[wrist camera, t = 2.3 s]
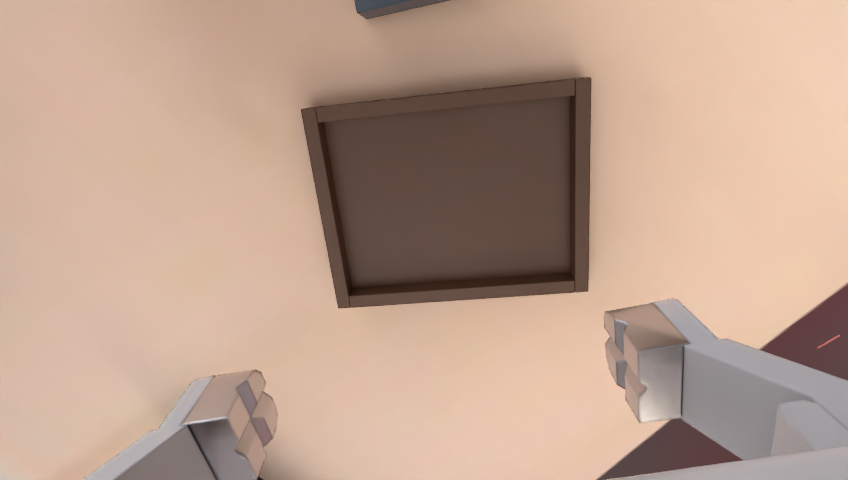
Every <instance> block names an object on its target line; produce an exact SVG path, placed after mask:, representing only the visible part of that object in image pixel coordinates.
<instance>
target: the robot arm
mask: <svg viewBox="0 0 848 480" xmlns="http://www.w3.org/2000/svg"><path fill="white" fill-rule="evenodd" d="M604 328H605V329H606V331H607V332H608V334H609V336H610V337H609V339H608V340H607V342H606V343H605V348H606V357H607V362H608V366H609V369H610V372H611V374H612V376H613V378H614V380H615V382H616V384H617V385H618V386H620V387H622V388H624V389H625V395H626V401H627V403H628V404H629V406H630V408H631V410H632V411H633V413H634V415H635V416H636V418H637V420H638V421H639V423H644V422H652V421H661V420H669V419H677V418H682V420H683V421H685V422H686V423H688V424H689V425H691V426H692V427H694V428H695V429H697V430H698V431H700V432H701V433H703V434H704V435H706V436H708V437H709V438H711V439H712V440H714V441H715V442H717V443H718V444H720V445H721V446H723V447H724V448H726V449H728V450H729V451H730V452H732V453H733V454H735V455H737V456H738V457H740V458H741V459H743V461H736V462H729V463H721V464H715V465H707V466H700V467H694V468H686V469H679V470H672V471H665V472H658V473H651V474H644V475H637V476H630V477H623V478H615V479H608V480H848V381H847V380H844V379H841V378H838V377H835V376H832V375H829V374H827V373H824V372H821V371H818V370H815V369H812V368H810V367H807V366H804V365H801V364H798V363H795V362H792V361H789V360H787V359H784V358H781V357H778V356H775V355H772V354H769V353H767V352H763V351H761V350H758V349H755V348H752V347H749V346H746V345H744V344H741V343H738V342H735V341H732V340H729V339H721V340H719V339H718V338H717V337H716V336H715V335H714V334H713V333H712V332H711V331H710V330H709V329H708V328H707V327H705V326H704V325H703V324H702V323H701V322H700V321H699V320H698V319H697V318H696V317H695V316H694V315H693V314H692V313H691V312H690V311H689V310H688V309H687V308H686V307H685V306H684V305H683V304H682V303H681V302H680V301H678V300H677V299H674V298H672V299H667V300H662V301H657V302H652V303H650V304H644V305H639V306H633V307H628V308H622V309H617V310H611V311H606V312H605V314H604ZM265 385H266V381H265V379H264V377H263V375H262V373H261V372H260V371H258V370H250V371H243V372H236V373H229V374H223V375H217V376H210V377H204V378H198V379H196V380H194V381H192V382H191V384H190V385H189V386H188V388H187V389H186V391H185V392H184V393H183V395H182V396H181V398H180V399H179V400H178V402H177V403H176V405H175V406H174V408H173V409H172V410H171V412H170V413H169V415H168V416H167V417H166V419H165V420H164V422H163V423H162V424H161V426H160V427H159V429H158V430H152V431H150V432H149V433H147V434H146V435H145V436H143V437H142V438H140V439H139V440H137V441H136V442H135V443H133V444H132V445H130V446H129V447H128V448H126V449H125V450H123V451H122V452H120V453H119V454H118V455H116V456H115V457H113V458H112V459H111V460H109V461H108V462H106V463H105V464H104V465H102V466H101V467H99V468H98V469H96V470H95V471H94V472H92V473H91V474H89V475H88V476H87V477H85V478H84V479H82V480H257V478H258V475H259V473H260V470H261V468H262V465H263V463H264V460H265V458H266V455H267V454H266V452H265V450H264V446H265V445H267V444H268V443H269V442H270V441H271V440H272V439H273V437H274V434H275V431H276V428H277V416H278V415H277V410H276V405H275V403H274V400H273V398H272V397H271V396H269V395H268V394H266V393H265V392H264V391H263V390H264V388H265Z"/></svg>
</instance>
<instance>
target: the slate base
mask: <svg viewBox="0 0 848 480" xmlns="http://www.w3.org/2000/svg"><path fill="white" fill-rule="evenodd" d="M354 1H355V6H356V10H357V13H359V14H360V15H361V16H363V17H364V18H365V19H370V18H374V17H379V16H383V15H387V14H392V13H396V12H400V11H405V10H409V9H414V8H418V7H422V6H427V5H431V4H435V3H440V2H444V1H449V0H354Z"/></svg>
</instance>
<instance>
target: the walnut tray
mask: <svg viewBox="0 0 848 480" xmlns="http://www.w3.org/2000/svg"><path fill="white" fill-rule="evenodd" d="M301 113H302V118H303V124H304V129H305V134H306V139H307V145H308V150H309V155H310V161H311V166H312V171H313V177H314V182H315V187H316V193H317V198H318V203H319V209H320V214H321V219H322V225H323V230H324V235H325V241H326V246H327V251H328V256H329V262H330V267H331V272H332V278H333V283H334V288H335V294H336V299H337V304H338V308H350V307H366V306H381V305H396V304H411V303H425V302H440V301H455V300H470V299H485V298H500V297H514V296H529V295H544V294H559V293H574V292H586V291H588V272H589V202H590V131H591V78H590V77H587V78H574V79H565V80H556V81H547V82H538V83H529V84H520V85H511V86H502V87H492V88H483V89H474V90H465V91H456V92H447V93H438V94H429V95H420V96H411V97H402V98H393V99H384V100H375V101H366V102H357V103H347V104H338V105H329V106H320V107H311V108H305V109H301Z"/></svg>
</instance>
